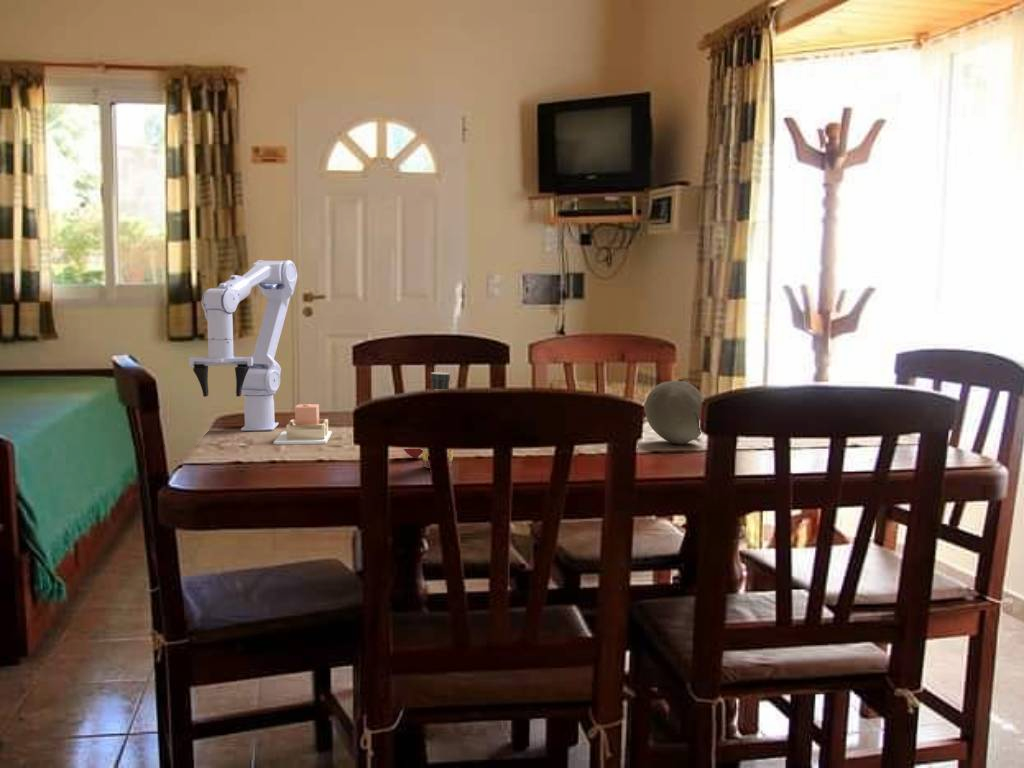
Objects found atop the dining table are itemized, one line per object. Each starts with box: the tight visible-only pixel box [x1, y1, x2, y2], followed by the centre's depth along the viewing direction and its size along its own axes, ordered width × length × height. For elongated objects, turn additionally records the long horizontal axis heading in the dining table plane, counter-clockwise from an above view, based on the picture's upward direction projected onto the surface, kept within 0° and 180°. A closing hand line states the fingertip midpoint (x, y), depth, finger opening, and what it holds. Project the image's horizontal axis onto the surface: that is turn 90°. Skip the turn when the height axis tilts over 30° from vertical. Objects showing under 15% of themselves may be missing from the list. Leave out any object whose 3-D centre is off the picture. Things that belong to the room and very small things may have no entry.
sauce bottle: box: [422, 371, 454, 469], centre depth 198 cm, size 7×6×20 cm
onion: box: [403, 449, 423, 459], centre depth 208 cm, size 6×6×8 cm
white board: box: [273, 430, 333, 445], centre depth 231 cm, size 14×12×1 cm
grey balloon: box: [644, 380, 705, 445], centre depth 226 cm, size 14×14×15 cm
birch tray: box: [285, 418, 329, 440], centre depth 231 cm, size 9×9×3 cm
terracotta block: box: [294, 403, 320, 425], centre depth 230 cm, size 5×5×5 cm
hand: (222, 396), depth 229 cm, fingers open, 7 cm apart
